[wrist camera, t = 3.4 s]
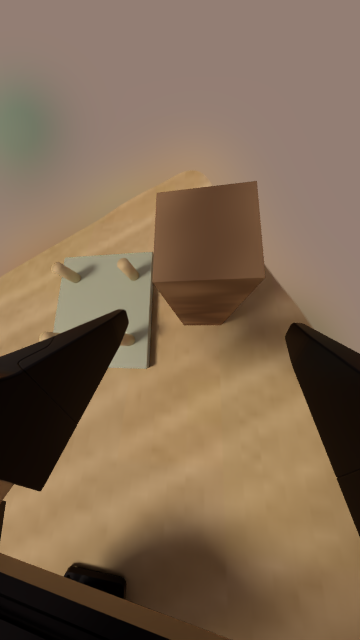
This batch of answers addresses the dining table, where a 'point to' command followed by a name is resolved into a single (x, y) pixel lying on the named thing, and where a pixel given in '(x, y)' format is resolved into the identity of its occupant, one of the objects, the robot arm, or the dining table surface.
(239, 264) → the walnut block
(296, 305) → the dining table surface
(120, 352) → the pin plate
